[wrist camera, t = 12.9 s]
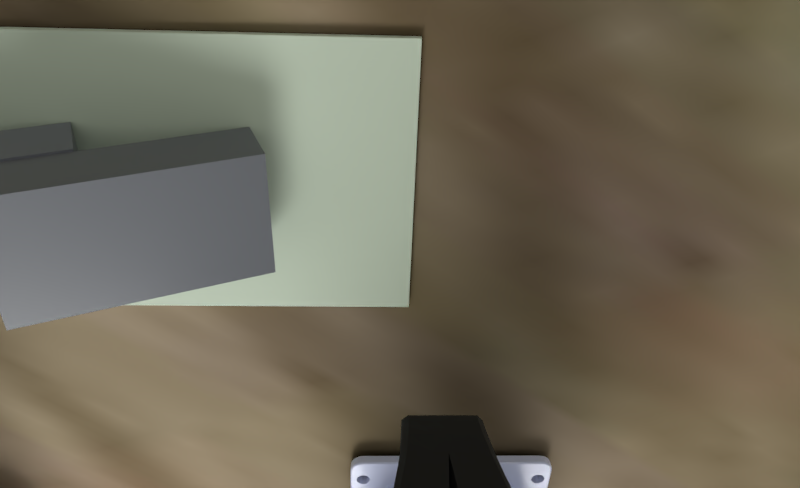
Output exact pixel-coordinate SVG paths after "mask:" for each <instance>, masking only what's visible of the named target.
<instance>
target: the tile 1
mask: <svg viewBox="0 0 800 488" xmlns="http://www.w3.org/2000/svg"><path fill="white" fill-rule="evenodd" d="M274 272H276V271H275V259H274V248H273V237H272V226H271V214H270V203H269V192H268V181H267V169H266V158H265V153H264V151H263V149H262V148H261V146H260V144H259V143H258V141H257V139H256V137H255V136H254V134H253V132H252V131H251V129H250V127H244V128H237V129H230V130H222V131H215V132H208V133H201V134H194V135H187V136H180V137H172V138H165V139H158V140H151V141H144V142H137V143H130V144H122V145H115V146H108V147H101V148H94V149H87V150H80V151H73V152H65V153H58V154H51V155H44V156H37V157H30V158H23V159H15V160H8V161H1V162H0V314H1V316H2V319H3V322H4V324H5V327H6V329H7V330H10V329H15V328H20V327H24V326H29V325H34V324H38V323H43V322H47V321H52V320H57V319H61V318H66V317H71V316H75V315H80V314H84V313H89V312H94V311H98V310H103V309H107V308H112V307H117V306H121V305H126V304H131V303H135V302H140V301H144V300H149V299H154V298H158V297H163V296H168V295H172V294H177V293H181V292H186V291H191V290H195V289H200V288H205V287H209V286H214V285H218V284H223V283H228V282H232V281H237V280H242V279H246V278H251V277H255V276H260V275H265V274H269V273H274Z"/></svg>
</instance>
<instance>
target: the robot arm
mask: <svg viewBox="0 0 800 488" xmlns="http://www.w3.org/2000/svg"><path fill="white" fill-rule="evenodd" d="M551 471H552V468H551V463H550V460H549V459H548V458H547V457H545V456H539V455H521V456H496V454H495V452H494V450H493V447H492V445H491V442H490V440H489V437H488V435H487V432H486V430H485V427H484V424H483V421H482V420H481V419H480V418H479V417H478V416H407V417H405V418H404V419H402V422H401V443H400V456H359V457H357V458H354V459H353V460H352V462H351V488H547V487H548V483H549V479H550V475H551ZM363 475H364V476H363Z"/></svg>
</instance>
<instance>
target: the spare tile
mask: <svg viewBox="0 0 800 488" xmlns="http://www.w3.org/2000/svg"><path fill="white" fill-rule="evenodd" d="M73 151H78V149H77V146H76V142H75V138H74V134H73V130H72V126H71V122H65V123H57V124H49V125H41V126H33V127H25V128H17V129H9V130H1V131H0V162H1V161H8V160H15V159H23V158H30V157H37V156H44V155H51V154H58V153H65V152H73Z"/></svg>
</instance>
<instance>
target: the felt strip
mask: <svg viewBox="0 0 800 488" xmlns="http://www.w3.org/2000/svg"><path fill="white" fill-rule="evenodd" d="M421 46H422V36H389V35H345V34H301V33H258V32H214V31H170V30H126V29H82V28H38V27H0V131H1V130H9V129H17V128H25V127H33V126H41V125H49V124H57V123H65V122H71V126H72V130H73V134H74V138H75V142H76V146H77V149H78V151H80V150H87V149H94V148H101V147H108V146H115V145H122V144H130V143H137V142H144V141H151V140H158V139H165V138H172V137H180V136H187V135H194V134H201V133H208V132H215V131H222V130H230V129H237V128H244V127H250V129H251V131H252V132H253V134H254V136H255V137H256V139H257V141H258V143H259V144H260V146H261V148H262V149H263V151H264V153H265V158H266V169H267V181H268V192H269V203H270V214H271V226H272V237H273V248H274V259H275V271H276V272H274V273H269V274H265V275H260V276H255V277H251V278H246V279H242V280H237V281H232V282H228V283H223V284H218V285H214V286H209V287H205V288H200V289H195V290H191V291H186V292H181V293H177V294H172V295H168V296H163V297H158V298H154V299H149V300H144V301H140V302H135V303H131V304H126V305H183V306H332V307H409V290H410V270H411V250H412V229H413V209H414V189H415V168H416V148H417V128H418V107H419V87H420V67H421Z"/></svg>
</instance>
